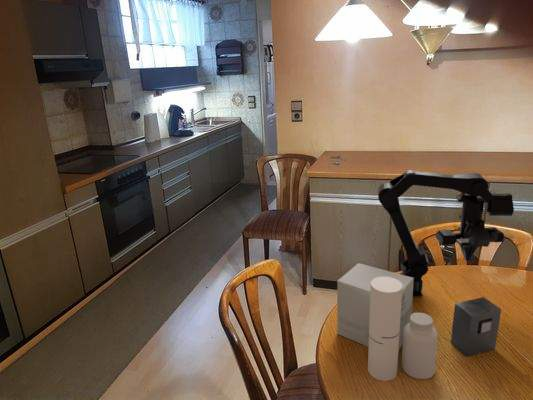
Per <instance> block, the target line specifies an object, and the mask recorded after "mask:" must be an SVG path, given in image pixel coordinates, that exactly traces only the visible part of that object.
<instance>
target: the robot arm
mask: <svg viewBox="0 0 533 400" xmlns="http://www.w3.org/2000/svg"><path fill="white" fill-rule="evenodd" d="M413 186H418V187H429V188H437V189H439V188H440V189H446V190H447V189H448V190H453V191H457V192H460V194H458V195H457V196H455V199H456V200H457V202H459V203H462V206H461V207H462V208H461V209H462V210H461V214H459V219H460V225H459V226H458V227H457V231H459V232H453V231H451V229H439V230H438V231H437V232H436V233H435V239H436V240H438V241H439V243H440V244H441V245H444V246H451V245H453V246H454V245H455V244H456V243H457V244H459V247H460V249H461V252H462V255H463V259H464V261H465V262H469V261H470V260H471V258H472V256H473V255H474V254H475V251H477V249H478V248H479V247H480V248H481V247H486V248H487V247H490V244H491V243H504V242H505V237H506V236H505V233H504V232H502V231H501V230H500V229H498V228H497V227H495V226H491V227H486V226H485V225H486V224H485V220H484V219H483V215H484V213H487V214H488V216H489V217H490V216H491V217H512V216H513V214H514V210H515V208H514V201H513V195H512V194H511V193H507V192H506V193H492V191H490V190H489V182H488V181H487V179H485V177H483V175H481V174H480V173H479V172H464V173H463V172H462V173H459V174H449V173H448V174H446V173H438V172H425V171H417V170H413V169H407V170H406V171H405V172H404V173H402V174H400V175H398V176H396V177H394V178H393V179H391V180H390V181H388V182H383V183H381V184H380V185H379V186H378V189H377V197H378V201H379V203H380V204H381V207H383V209H384V210H385V211H386V212H387V213H388V214H389V216H390V219H391V221H392V223H393V225H394V228H395V230H396V232H397V235H398V237H399V239H400V242H401V244H402V247H403V249H404V251H405V254H406V255H405V256H406V260H404V261H402V262H401V263H400V267H401V272H400V273H399V274H401V275H404V276H408V277H413V278H414V281H413V297H423V293H422V291H423V286H424V285H423V283H424V281H423V279H422V278H423V276H425V275H426V274H427V273H428V271H429V267H428V266H430V262H429V257H428V255H427V254H426V253H425V249H424V246H420V247H419V246H418V245H417V244H416V242H415V239H414V237H413V235H412V232H411V229H410V228H409V225H408V223H407V220H406V218H405V216H404V213H403V212H402V209H401V205H400V199H399V198H400V197H401V196H403V195H404V194H405V193H406V192H407V191H408V190H409V189H410V188H411V187H413Z"/></svg>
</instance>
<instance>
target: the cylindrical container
mask: <svg viewBox="0 0 533 400" xmlns="http://www.w3.org/2000/svg"><path fill="white" fill-rule="evenodd" d="M401 301H402V283H401V282H400V281H399V280H397V279H394V278H391V277H377V278H374V279H373V280H372V281H371V290H370V320H369V347H368V349H367V350H368V354H367V356H368V358H367V359H368V360H367V370H368V373H369V375H370V376H371V377H372V378H374V379H376V380H379V381H385V382H387V381H392V380H394V379H395V378H396V376H397V375H398V362H399V350H400V349H399V333H400V317H401ZM398 349H399V350H398Z"/></svg>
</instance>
